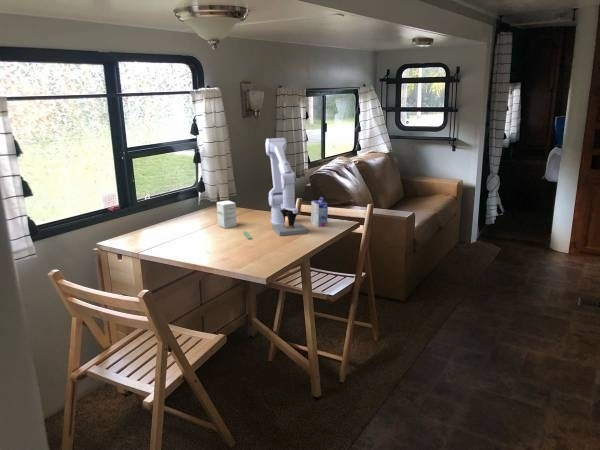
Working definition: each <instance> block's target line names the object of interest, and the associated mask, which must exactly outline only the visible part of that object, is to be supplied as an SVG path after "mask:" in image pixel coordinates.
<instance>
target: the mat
mask: <svg viewBox="0 0 600 450" xmlns="http://www.w3.org/2000/svg"><path fill="white" fill-rule="evenodd" d="M242 233H243V235H244V236H245V238H246V239H247V240H253V237H252V236H251V235H250V234H249V232H248V231H246V230H245V231H242Z"/></svg>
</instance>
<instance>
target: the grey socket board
mask: <svg viewBox="0 0 600 450" xmlns="http://www.w3.org/2000/svg"><path fill="white" fill-rule="evenodd" d="M271 229H272V230H273V231H274V232H275V233H276V235H278V236H279V237H286V236H292V235H293V236H294V235H295V236H296V235H303V234H308V233H309V232H308V230H309V229H308V228H307V227H306V226H304V225H303V224H301V223H300V222H299V221H297V222H294V226H293V228H288V229H286V228H285V224H275V225H274V224H272V225H271Z"/></svg>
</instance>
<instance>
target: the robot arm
mask: <svg viewBox="0 0 600 450" xmlns="http://www.w3.org/2000/svg"><path fill="white" fill-rule="evenodd" d="M264 146H265V153H266V156H268V157H269V159H270V168H271V177H272V186H273V187H272V188H271V189H270V190H269V192H268V204H269V206H270V207H271V209H270V215H271V219H269V222H271V223H272V225H275V224H285V216H287V217H288V222H289V226H294V222H295V221H296V217H297V216H298V215H299V212H298V211H299V210H298V208H296V199H295V197H296V195H295V194H296V192H295V191H296V190H295V185H296V184H297V176H296V173H295V171H294V170H292V167H291V164H290V161H288V160H287V158H286V149H287V140H286V138H285V137H276V138H275V137H274V138H269V137H268V138H266V139H265V144H264Z"/></svg>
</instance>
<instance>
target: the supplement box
mask: <svg viewBox="0 0 600 450" xmlns="http://www.w3.org/2000/svg"><path fill="white" fill-rule="evenodd" d="M236 208H237V206H236V202H233V201H231V200H223V201H222V200H221V201H217V202H216V212H217V215H216V216H217V217H216V218H217V226H218V227H221V228H222V229H223V228H224V229H230V228H234V227H237V209H236Z"/></svg>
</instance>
